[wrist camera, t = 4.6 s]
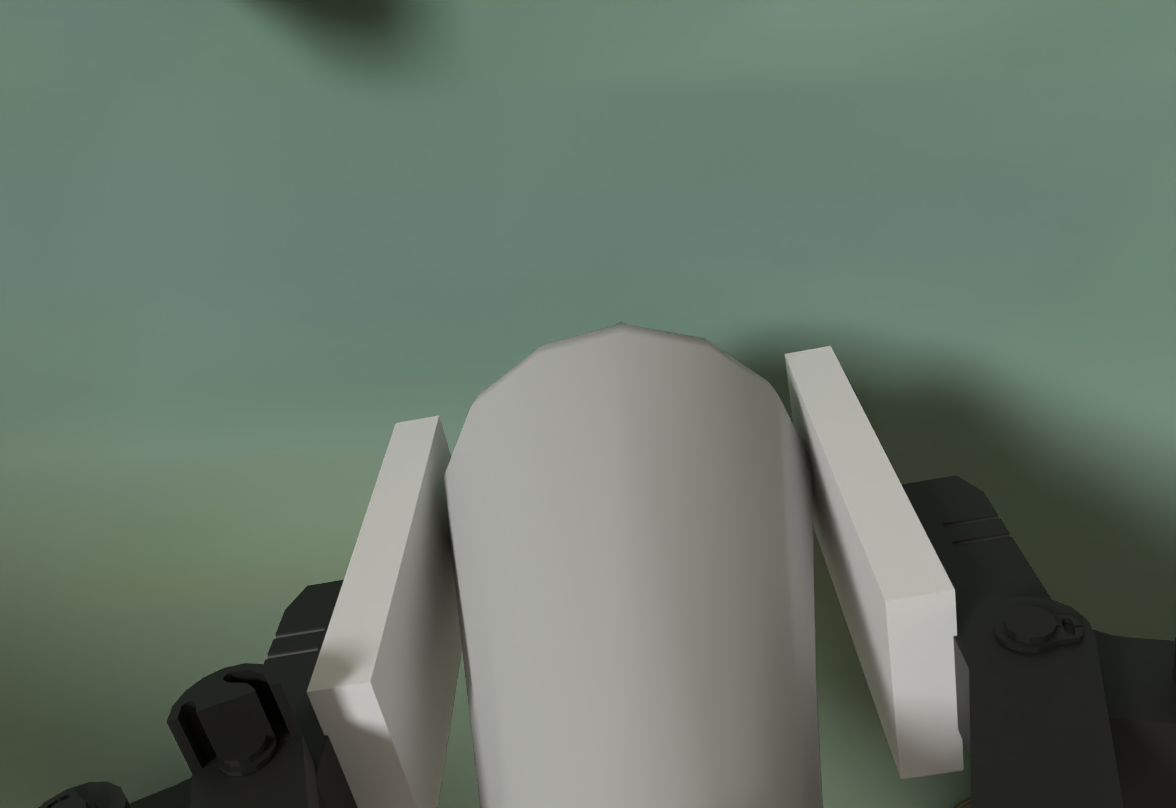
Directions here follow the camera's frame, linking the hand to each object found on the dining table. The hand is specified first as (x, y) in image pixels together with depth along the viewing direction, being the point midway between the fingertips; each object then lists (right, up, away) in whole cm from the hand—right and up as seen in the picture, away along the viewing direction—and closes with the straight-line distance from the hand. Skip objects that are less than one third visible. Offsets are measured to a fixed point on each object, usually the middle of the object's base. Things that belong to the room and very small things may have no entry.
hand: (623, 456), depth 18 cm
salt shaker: (0, 0, +1) cm, 1 cm away
